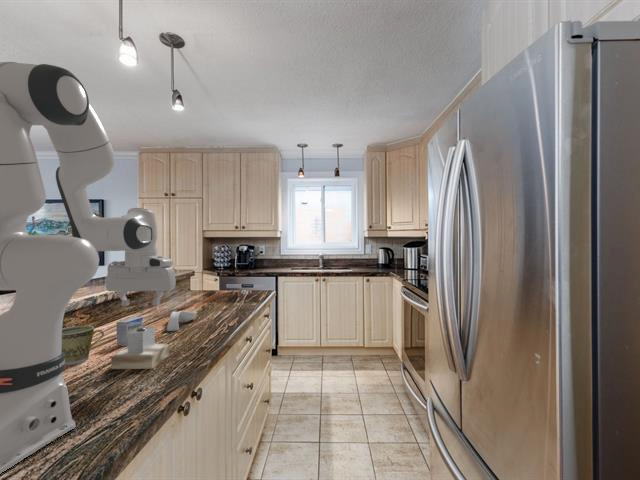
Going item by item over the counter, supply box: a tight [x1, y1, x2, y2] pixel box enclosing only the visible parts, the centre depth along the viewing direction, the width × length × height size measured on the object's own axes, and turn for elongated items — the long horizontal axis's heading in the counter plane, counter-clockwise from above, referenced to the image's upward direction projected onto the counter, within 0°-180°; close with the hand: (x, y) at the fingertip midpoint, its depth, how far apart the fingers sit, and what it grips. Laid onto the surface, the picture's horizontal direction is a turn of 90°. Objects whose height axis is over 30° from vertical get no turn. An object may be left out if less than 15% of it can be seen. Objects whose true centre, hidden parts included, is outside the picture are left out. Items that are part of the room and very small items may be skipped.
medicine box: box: [115, 316, 144, 347], centre depth 118 cm, size 8×4×9 cm, turn 168°
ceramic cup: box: [62, 325, 105, 367], centre depth 100 cm, size 13×10×10 cm
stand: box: [110, 343, 171, 370], centre depth 99 cm, size 11×12×4 cm
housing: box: [127, 326, 156, 353], centre depth 99 cm, size 4×7×6 cm, turn 0°
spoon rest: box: [166, 310, 198, 332], centre depth 145 cm, size 24×12×7 cm, turn 11°
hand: (140, 305), depth 99 cm, fingers open, 8 cm apart
